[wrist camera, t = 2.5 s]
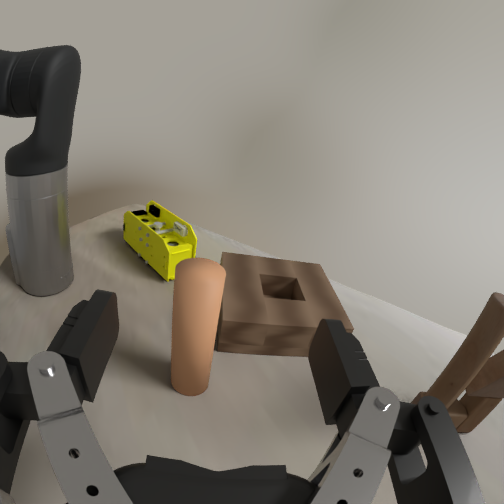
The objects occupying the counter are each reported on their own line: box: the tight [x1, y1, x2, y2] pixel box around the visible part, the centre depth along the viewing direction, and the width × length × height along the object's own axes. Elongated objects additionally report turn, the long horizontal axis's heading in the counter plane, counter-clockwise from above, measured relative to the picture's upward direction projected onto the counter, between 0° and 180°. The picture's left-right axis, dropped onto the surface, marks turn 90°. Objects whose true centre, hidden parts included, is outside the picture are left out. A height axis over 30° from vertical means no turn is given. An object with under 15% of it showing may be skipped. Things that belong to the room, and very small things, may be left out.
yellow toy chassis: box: [123, 200, 197, 282], centre depth 49 cm, size 16×6×8 cm, turn 46°
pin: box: [171, 258, 226, 396], centre depth 26 cm, size 4×4×14 cm
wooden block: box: [411, 292, 504, 432], centre depth 23 cm, size 4×11×18 cm, turn 77°
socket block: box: [217, 252, 354, 357], centre depth 42 cm, size 16×16×5 cm
